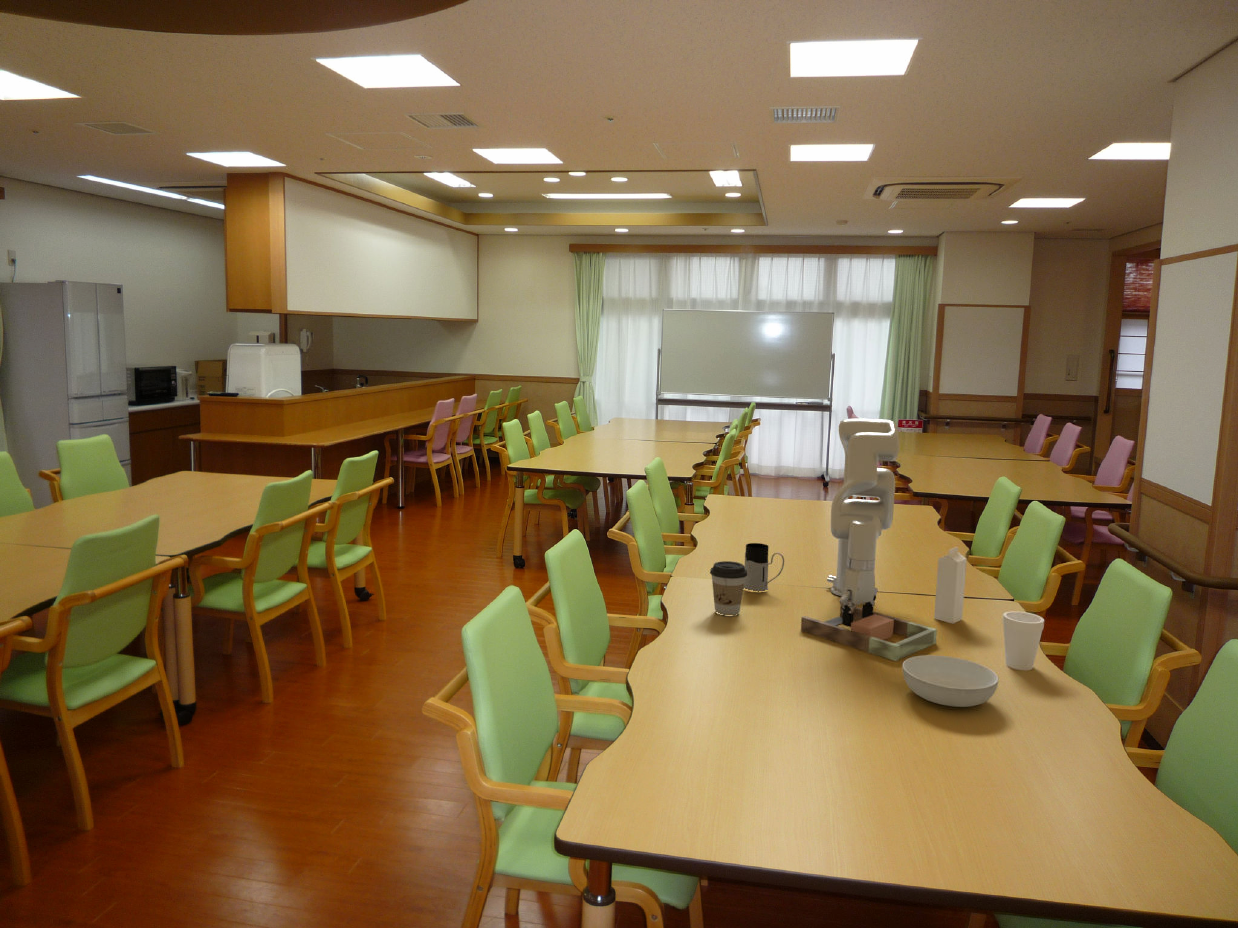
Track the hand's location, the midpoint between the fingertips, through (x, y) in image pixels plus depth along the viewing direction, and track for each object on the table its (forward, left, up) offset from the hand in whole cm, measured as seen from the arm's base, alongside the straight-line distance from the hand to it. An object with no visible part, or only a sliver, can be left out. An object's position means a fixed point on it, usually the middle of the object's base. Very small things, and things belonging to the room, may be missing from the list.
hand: (857, 622), depth 235 cm
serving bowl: (+38, -22, -4) cm, 44 cm away
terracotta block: (+5, 0, -4) cm, 6 cm away
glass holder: (-44, +12, -4) cm, 45 cm away
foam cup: (+40, +12, -4) cm, 42 cm away
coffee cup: (-36, -15, -4) cm, 39 cm away
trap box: (+3, 0, -3) cm, 5 cm away
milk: (+10, +33, -4) cm, 35 cm away
